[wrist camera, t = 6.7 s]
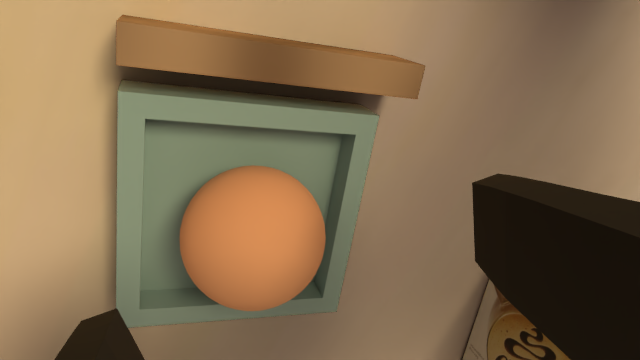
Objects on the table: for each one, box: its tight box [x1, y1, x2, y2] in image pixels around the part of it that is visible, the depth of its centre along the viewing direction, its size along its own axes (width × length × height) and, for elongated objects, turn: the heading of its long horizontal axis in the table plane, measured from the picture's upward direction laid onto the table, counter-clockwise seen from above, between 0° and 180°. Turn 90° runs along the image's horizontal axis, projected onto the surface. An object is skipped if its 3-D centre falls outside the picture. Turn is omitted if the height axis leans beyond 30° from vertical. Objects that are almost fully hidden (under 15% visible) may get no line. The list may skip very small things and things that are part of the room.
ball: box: [179, 165, 326, 311], centre depth 16 cm, size 5×5×5 cm
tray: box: [116, 80, 379, 328], centre depth 18 cm, size 9×9×2 cm
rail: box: [116, 15, 425, 99], centre depth 15 cm, size 10×1×2 cm, turn 80°
